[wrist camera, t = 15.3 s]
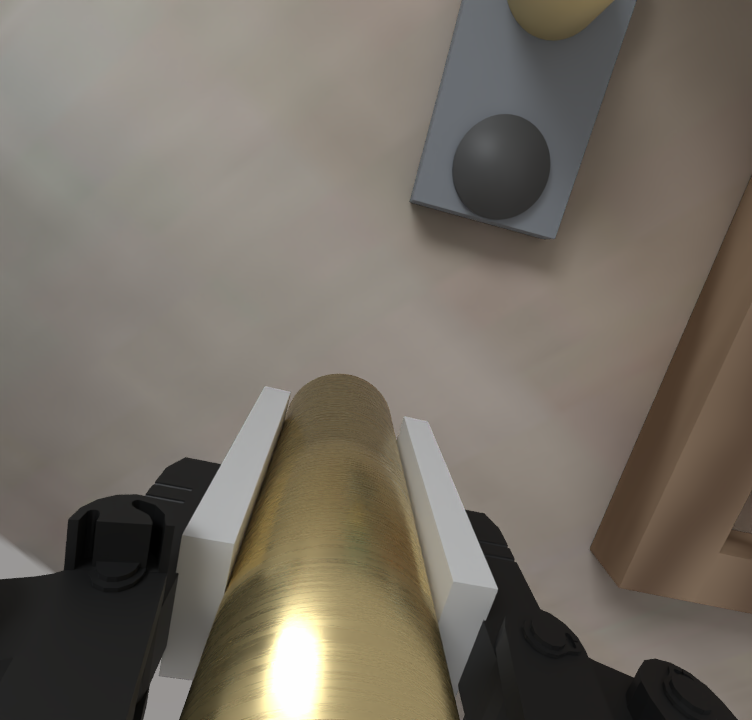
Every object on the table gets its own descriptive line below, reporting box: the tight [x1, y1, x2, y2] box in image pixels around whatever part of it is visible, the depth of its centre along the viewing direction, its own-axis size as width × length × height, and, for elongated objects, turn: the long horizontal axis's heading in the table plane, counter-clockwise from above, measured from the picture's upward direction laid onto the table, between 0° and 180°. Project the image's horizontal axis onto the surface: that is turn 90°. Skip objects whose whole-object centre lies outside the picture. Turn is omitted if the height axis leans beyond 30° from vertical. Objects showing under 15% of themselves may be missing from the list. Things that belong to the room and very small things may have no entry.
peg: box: [179, 374, 460, 720], centre depth 9 cm, size 4×4×12 cm
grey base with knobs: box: [410, 0, 637, 239], centre depth 14 cm, size 6×10×5 cm, turn 166°
